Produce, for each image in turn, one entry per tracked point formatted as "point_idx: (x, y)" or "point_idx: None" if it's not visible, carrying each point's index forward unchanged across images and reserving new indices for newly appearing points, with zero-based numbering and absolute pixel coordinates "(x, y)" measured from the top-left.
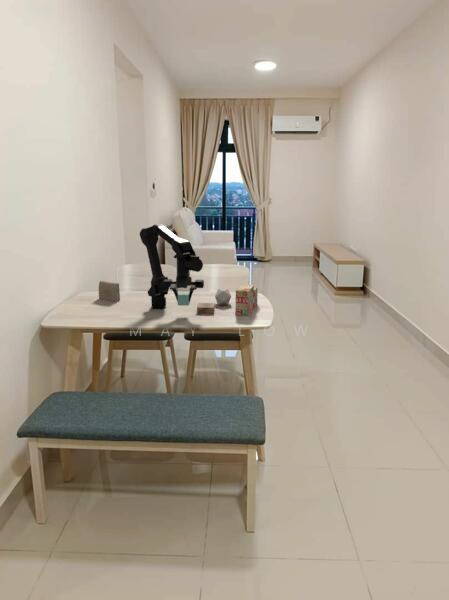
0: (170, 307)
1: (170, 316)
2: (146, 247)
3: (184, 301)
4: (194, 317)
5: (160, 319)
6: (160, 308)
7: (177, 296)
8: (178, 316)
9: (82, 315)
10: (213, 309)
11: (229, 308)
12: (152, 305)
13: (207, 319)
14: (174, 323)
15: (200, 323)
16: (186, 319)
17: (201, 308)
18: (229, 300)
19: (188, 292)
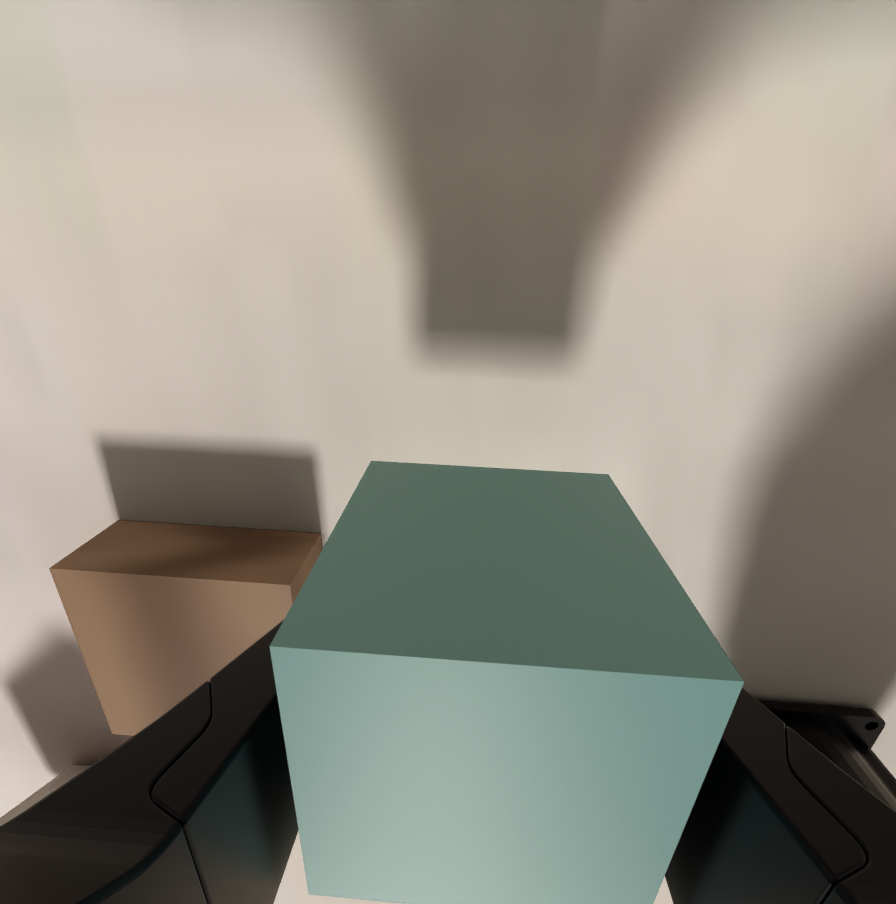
0: None
1: (668, 423)
2: None
3: (456, 511)
4: (327, 373)
5: (846, 274)
6: (764, 702)
7: None
8: (554, 421)
9: None
10: (77, 551)
11: (18, 675)
12: (872, 760)
13: (125, 274)
14: (632, 16)
15: (173, 30)
16: (432, 274)
17: (232, 570)
18: (11, 810)
19: (335, 880)
